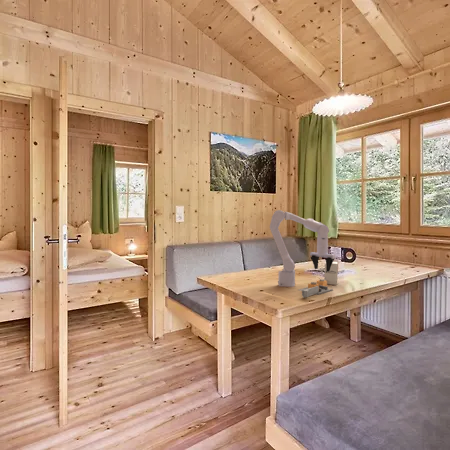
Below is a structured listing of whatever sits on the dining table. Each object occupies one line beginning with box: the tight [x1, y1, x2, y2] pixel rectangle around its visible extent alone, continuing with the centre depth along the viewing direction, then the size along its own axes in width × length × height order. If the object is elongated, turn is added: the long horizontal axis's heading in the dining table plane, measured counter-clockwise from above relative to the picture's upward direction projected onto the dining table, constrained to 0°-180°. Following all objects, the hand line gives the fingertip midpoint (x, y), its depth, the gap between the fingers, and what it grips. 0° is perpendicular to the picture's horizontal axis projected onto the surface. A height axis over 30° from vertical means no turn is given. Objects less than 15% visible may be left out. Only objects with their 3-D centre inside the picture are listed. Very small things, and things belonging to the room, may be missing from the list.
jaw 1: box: [307, 282, 319, 289], centre depth 164 cm, size 4×4×5 cm
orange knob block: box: [316, 278, 328, 287], centre depth 175 cm, size 4×4×5 cm
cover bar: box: [301, 286, 319, 298], centre depth 156 cm, size 13×3×4 cm, turn 130°
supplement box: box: [323, 260, 339, 286], centre depth 186 cm, size 7×7×13 cm
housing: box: [298, 285, 334, 296], centre depth 167 cm, size 14×13×2 cm
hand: (322, 269), depth 175 cm, fingers open, 7 cm apart
